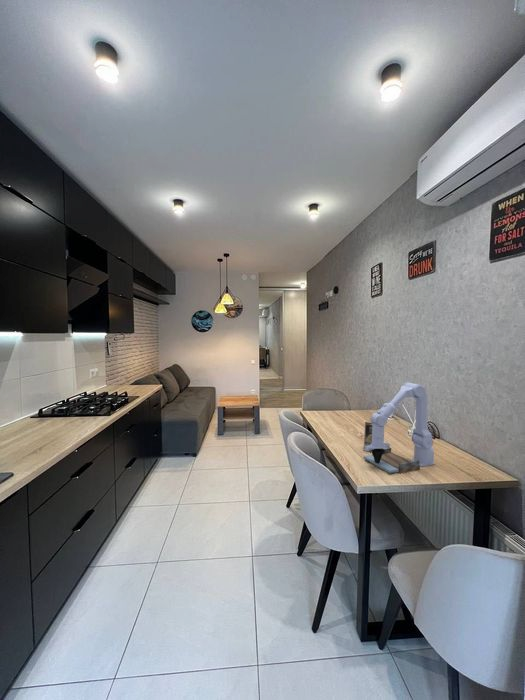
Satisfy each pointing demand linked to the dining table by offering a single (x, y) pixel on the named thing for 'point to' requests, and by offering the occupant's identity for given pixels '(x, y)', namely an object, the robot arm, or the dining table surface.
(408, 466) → the flatbed
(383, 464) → the bar
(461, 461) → the dining table surface
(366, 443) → the coffee box
